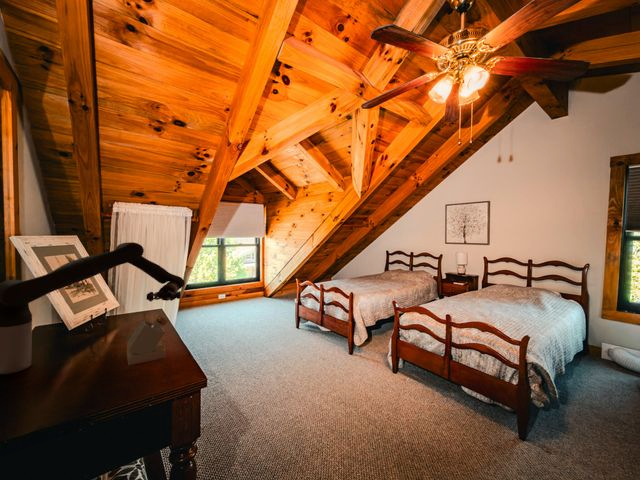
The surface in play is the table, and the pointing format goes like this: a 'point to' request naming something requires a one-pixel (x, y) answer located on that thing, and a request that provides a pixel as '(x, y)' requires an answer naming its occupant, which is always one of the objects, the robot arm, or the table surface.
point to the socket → (145, 344)
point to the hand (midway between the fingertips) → (160, 299)
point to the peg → (159, 323)
